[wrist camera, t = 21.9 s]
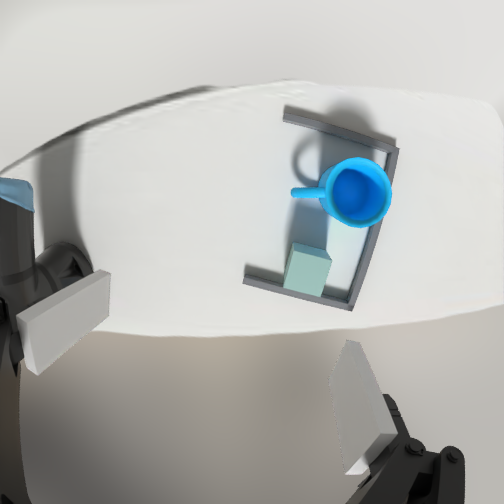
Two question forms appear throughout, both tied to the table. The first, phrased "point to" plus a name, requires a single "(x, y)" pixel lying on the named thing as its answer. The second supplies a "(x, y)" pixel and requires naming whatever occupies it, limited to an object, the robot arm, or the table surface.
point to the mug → (352, 192)
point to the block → (307, 269)
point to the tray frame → (373, 231)
